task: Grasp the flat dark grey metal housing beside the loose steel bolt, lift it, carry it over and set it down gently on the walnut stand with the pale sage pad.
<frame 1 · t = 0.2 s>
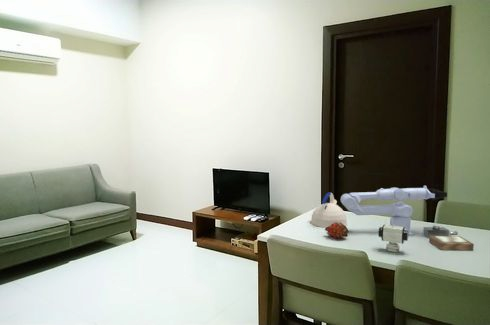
hand: (442, 193, 176), 21 cm above the table, tool horizontal, fingers open, 7 cm apart
housing: (435, 237, 173), on the table
loose bolt: (452, 234, 176), on the table
stand: (450, 246, 159), on the table
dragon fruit: (336, 238, 172), on the table
kettle: (328, 223, 199), on the table
pneumatic valve: (392, 251, 153), on the table
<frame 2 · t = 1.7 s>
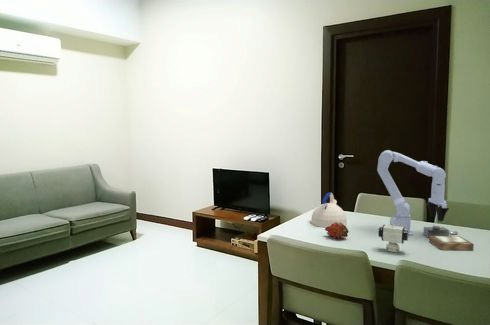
hand: (436, 219, 172), 9 cm above the table, tool pointing down, fingers open, 7 cm apart
nothing on the table moved.
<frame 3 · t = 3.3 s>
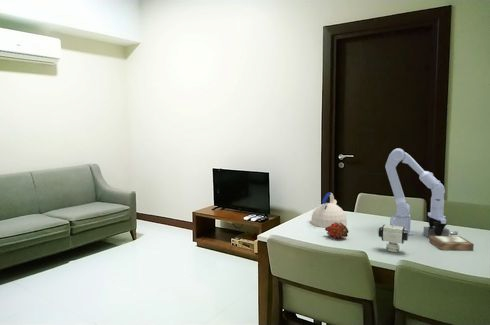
hand: (435, 233, 173), 1 cm above the table, tool pointing down, fingers closed on housing, 5 cm apart
housing: (435, 236, 173), on the table, touching gripper
everything else where it was.
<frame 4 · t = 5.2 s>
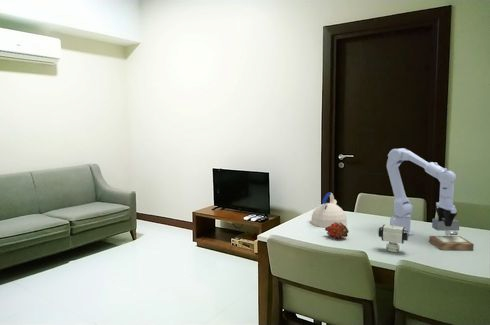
hand: (445, 224, 164), 9 cm above the table, tool pointing down, fingers closed on housing, 5 cm apart
housing: (445, 229, 164), point 6 cm above the table, touching gripper
everything else where it was.
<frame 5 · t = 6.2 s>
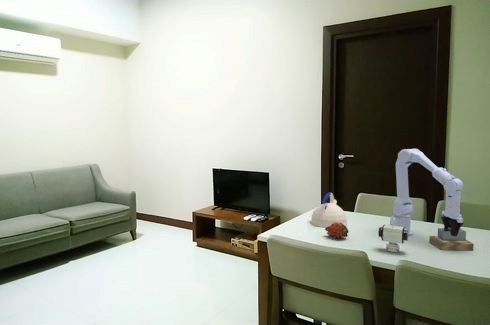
hand: (451, 234, 159), 6 cm above the table, tool pointing down, fingers closed on housing, 5 cm apart
housing: (451, 239, 159), point 3 cm above the table, touching gripper, stand
everything else where it was.
when the fingers open (6 cm above the table, at t = 7.0 s): housing stays where it is, resting on stand.
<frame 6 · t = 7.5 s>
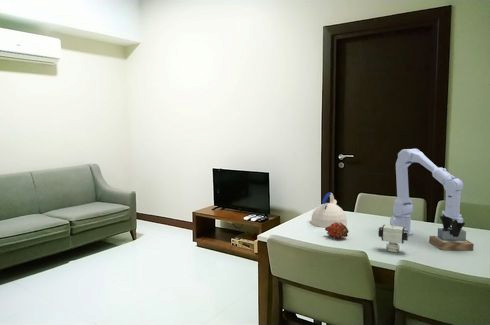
hand: (451, 234, 159), 6 cm above the table, tool pointing down, fingers open, 7 cm apart
housing: (451, 239, 159), point 3 cm above the table, touching stand
everything else where it was.
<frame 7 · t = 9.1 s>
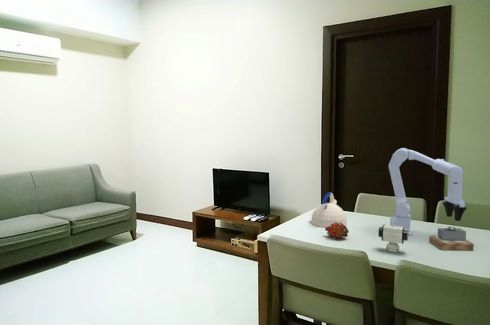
hand: (453, 218, 168), 10 cm above the table, tool pointing down, fingers open, 7 cm apart
nothing on the table moved.
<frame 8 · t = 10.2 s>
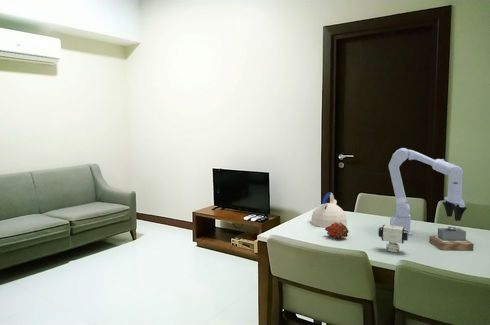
hand: (453, 218, 168), 10 cm above the table, tool pointing down, fingers open, 7 cm apart
nothing on the table moved.
at the end: housing 0.2 cm off-centre on the stand, point 3.3 cm above the stand's base; housing tilted 0°; the gripper is holding nothing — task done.
